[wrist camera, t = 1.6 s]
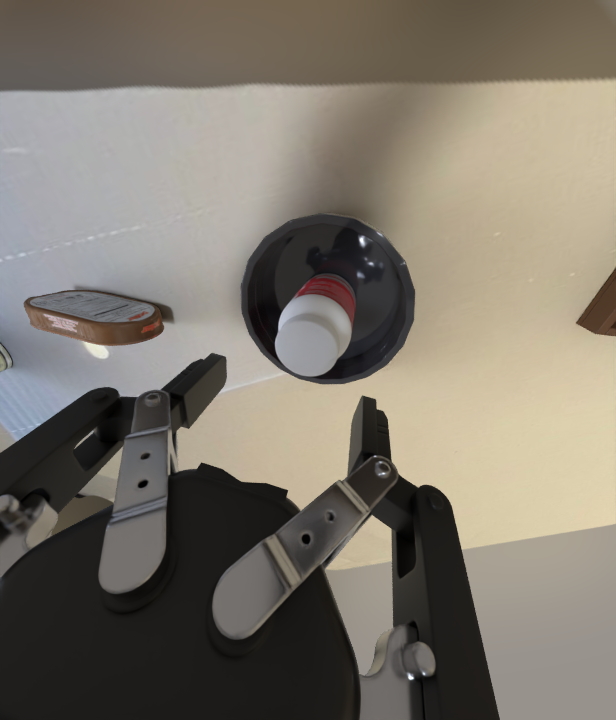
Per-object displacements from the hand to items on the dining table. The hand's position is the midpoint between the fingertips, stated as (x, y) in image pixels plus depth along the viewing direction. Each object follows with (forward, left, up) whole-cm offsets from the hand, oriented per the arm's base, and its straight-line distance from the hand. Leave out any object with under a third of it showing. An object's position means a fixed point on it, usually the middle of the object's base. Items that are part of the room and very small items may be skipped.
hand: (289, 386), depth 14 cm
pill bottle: (0, 0, -15) cm, 15 cm away
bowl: (0, 0, -16) cm, 16 cm away
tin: (+14, -24, -16) cm, 32 cm away
